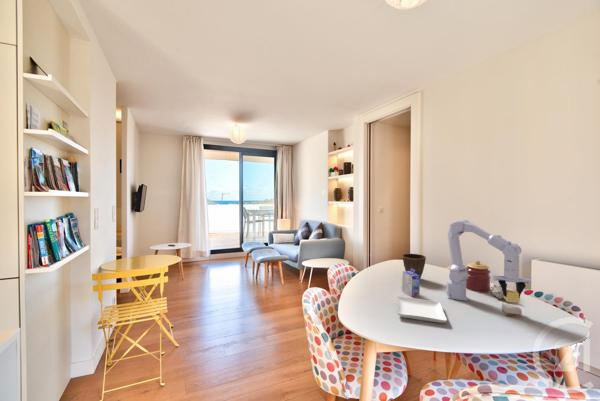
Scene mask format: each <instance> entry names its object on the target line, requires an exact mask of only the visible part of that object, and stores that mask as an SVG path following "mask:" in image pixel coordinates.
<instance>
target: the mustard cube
mask: <svg viewBox="0 0 600 401" xmlns="http://www.w3.org/2000/svg"><path fill="white" fill-rule="evenodd" d="M506 294H507V295H506V297H505V296H504V298H503V299H504V300H505V301H506V302H508V303H509V302H511V303H516V304H517V303H519V304H520V298H519V293H518V292H517V291H516V289H511V288H509V289H506Z"/></svg>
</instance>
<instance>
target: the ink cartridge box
mask: <svg viewBox="0 0 600 401" xmlns="http://www.w3.org/2000/svg"><path fill="white" fill-rule="evenodd" d="M411 270H413V271H414V272H415V270H414V269H412V268H411ZM411 270H410V271H404V270H403V271H402V275H401V279H402V281H401V282H402V283H401V292H403V293H405V294H406V295H408V296H410V298H414V297H420V292H421V291H420V289H421V287H420V286H421V284H420V283H421V278H420V275H417V274H415V273H414V272H412V271H411Z"/></svg>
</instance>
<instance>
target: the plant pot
mask: <svg viewBox="0 0 600 401" xmlns="http://www.w3.org/2000/svg"><path fill="white" fill-rule="evenodd" d="M401 257H402V262H403V267H404V270H405V271H410V270H411V268H412V269H414V270H415V272H414V271H413V270H411V271H412V272H414V273H415V274H417V275H420V279H421V278H422V275H423V273H424V269H425V265H426V260H427V256H425V255H423V254H418V253H404V254H402V255H401Z"/></svg>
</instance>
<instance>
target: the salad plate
mask: <svg viewBox="0 0 600 401" xmlns="http://www.w3.org/2000/svg"><path fill="white" fill-rule="evenodd" d="M396 304H397V305H396V306H397V308H396V314H397V315H398V316H399V317H402V318H405V319H410V318H411V319H412V320H417V321H423V322H424V321H426V322H432V323H440V324H441V323H443V324H444V323H446V322H447V321H448V318H447V316H446V314H445V312H444V309H443V306H442V304H441V302H439V301H435V300H428V299H421V298H414V297H405V296H397V297H396Z"/></svg>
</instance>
